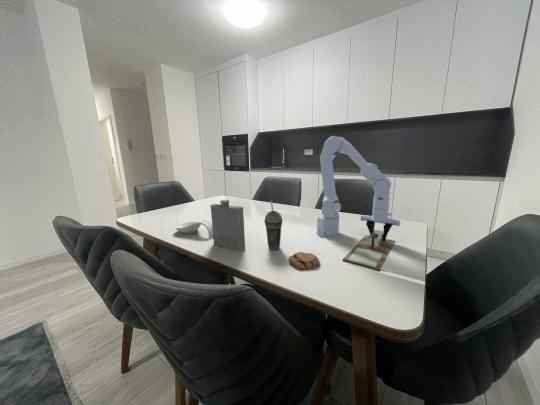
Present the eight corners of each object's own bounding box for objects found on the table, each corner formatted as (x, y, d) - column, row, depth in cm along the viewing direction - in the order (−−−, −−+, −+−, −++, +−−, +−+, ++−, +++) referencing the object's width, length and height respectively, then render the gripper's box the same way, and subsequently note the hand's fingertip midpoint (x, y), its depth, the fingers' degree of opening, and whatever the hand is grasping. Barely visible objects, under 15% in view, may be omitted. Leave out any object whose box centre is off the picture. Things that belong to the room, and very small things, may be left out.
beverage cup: (270, 253, 86) (268, 203, 82) (262, 246, 92) (260, 199, 88) (286, 249, 89) (285, 200, 85) (277, 243, 96) (276, 197, 91)
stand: (380, 271, 71) (381, 254, 69) (342, 261, 78) (343, 245, 77) (395, 243, 92) (397, 229, 91) (365, 237, 99) (366, 224, 98)
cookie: (322, 269, 73) (323, 261, 73) (291, 271, 73) (291, 263, 72) (315, 256, 83) (315, 248, 83) (286, 257, 83) (286, 250, 82)
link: (373, 238, 95) (374, 229, 94) (384, 240, 93) (385, 231, 92) (366, 247, 87) (367, 237, 86) (377, 249, 84) (378, 239, 83)
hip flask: (246, 248, 91) (244, 200, 87) (241, 251, 88) (238, 202, 84) (217, 241, 99) (213, 197, 95) (210, 245, 96) (206, 199, 91)
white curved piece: (171, 233, 112) (169, 220, 110) (190, 226, 122) (188, 214, 120) (205, 241, 100) (203, 226, 99) (222, 233, 110) (221, 219, 108)
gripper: (402, 208, 88) (399, 240, 91) (364, 203, 97) (362, 233, 100) (399, 211, 83) (396, 245, 86) (359, 207, 91) (357, 238, 94)
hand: (378, 239), depth 92 cm, fingers closed on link, 4 cm apart
